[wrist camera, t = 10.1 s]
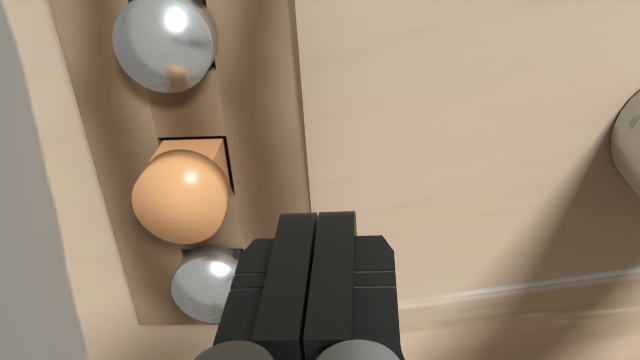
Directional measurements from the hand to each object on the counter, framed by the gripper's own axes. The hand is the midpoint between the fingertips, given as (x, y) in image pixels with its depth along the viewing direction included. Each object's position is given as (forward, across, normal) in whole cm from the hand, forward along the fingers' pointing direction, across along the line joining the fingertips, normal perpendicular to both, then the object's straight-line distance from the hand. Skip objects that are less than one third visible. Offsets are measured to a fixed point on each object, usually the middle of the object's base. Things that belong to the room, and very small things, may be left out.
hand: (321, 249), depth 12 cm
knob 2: (+28, +11, +20) cm, 36 cm away
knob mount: (+28, +11, +11) cm, 32 cm away
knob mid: (+26, +11, +11) cm, 30 cm away
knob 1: (+28, +11, +2) cm, 30 cm away
